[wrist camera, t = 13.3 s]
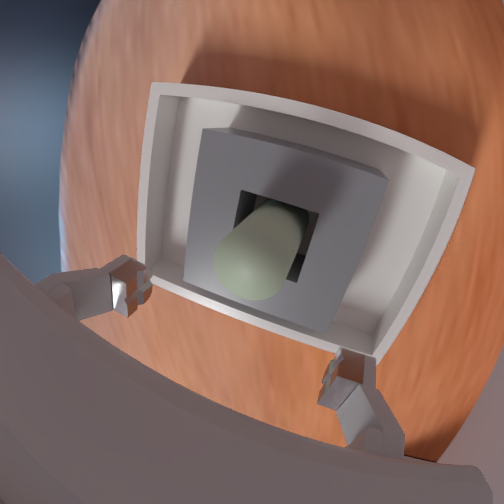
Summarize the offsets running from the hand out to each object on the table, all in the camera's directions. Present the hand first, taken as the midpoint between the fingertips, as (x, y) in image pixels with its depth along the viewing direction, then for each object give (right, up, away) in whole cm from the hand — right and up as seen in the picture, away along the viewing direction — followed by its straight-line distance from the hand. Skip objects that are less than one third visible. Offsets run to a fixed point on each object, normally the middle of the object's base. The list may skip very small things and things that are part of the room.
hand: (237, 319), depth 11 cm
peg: (+3, +5, +12) cm, 13 cm away
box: (+3, +6, +13) cm, 14 cm away
